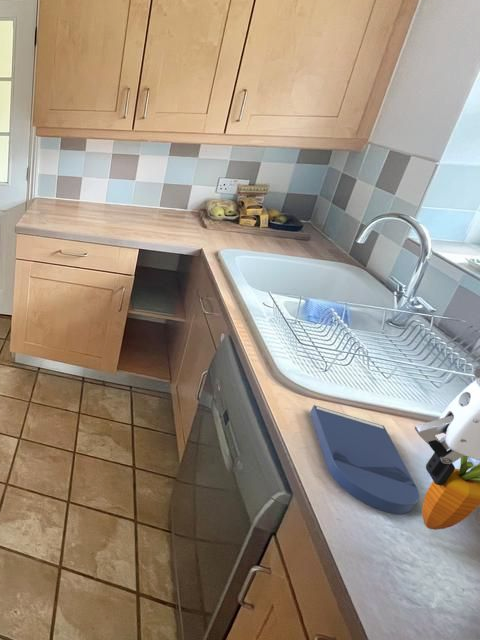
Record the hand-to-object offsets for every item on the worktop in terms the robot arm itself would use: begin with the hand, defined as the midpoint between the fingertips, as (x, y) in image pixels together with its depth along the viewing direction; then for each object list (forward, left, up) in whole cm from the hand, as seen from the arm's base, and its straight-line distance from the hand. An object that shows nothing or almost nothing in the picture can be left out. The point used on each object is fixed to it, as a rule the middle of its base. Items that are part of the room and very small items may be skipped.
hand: (460, 484), depth 60 cm
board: (+2, -17, -15) cm, 22 cm away
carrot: (0, 0, -10) cm, 10 cm away
